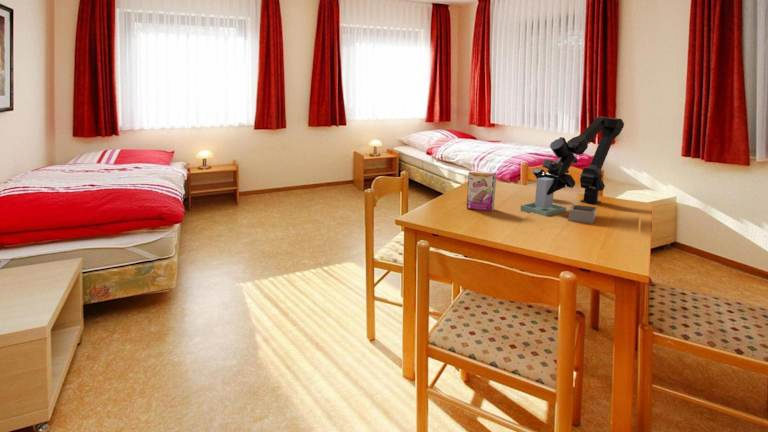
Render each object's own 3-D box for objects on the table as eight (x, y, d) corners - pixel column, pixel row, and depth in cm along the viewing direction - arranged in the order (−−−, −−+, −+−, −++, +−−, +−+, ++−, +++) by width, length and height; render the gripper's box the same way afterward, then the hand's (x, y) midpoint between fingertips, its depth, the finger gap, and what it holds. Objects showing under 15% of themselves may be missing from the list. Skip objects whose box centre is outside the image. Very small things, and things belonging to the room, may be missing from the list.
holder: (571, 216, 191) (572, 204, 190) (594, 219, 187) (596, 207, 185) (568, 222, 183) (569, 209, 182) (592, 225, 179) (594, 212, 178)
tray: (540, 206, 207) (540, 201, 206) (565, 212, 196) (566, 207, 196) (520, 210, 200) (520, 205, 199) (545, 217, 190) (546, 212, 189)
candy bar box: (466, 209, 203) (467, 172, 198) (469, 206, 207) (470, 170, 203) (491, 211, 198) (494, 174, 194) (494, 209, 203) (496, 172, 198)
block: (543, 204, 201) (545, 177, 198) (552, 207, 197) (554, 179, 193) (534, 206, 199) (537, 178, 195) (543, 208, 194) (546, 180, 191)
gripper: (537, 149, 201) (517, 177, 199) (573, 155, 185) (551, 185, 183) (548, 166, 207) (528, 193, 205) (584, 172, 191) (563, 202, 189)
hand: (542, 193), depth 195 cm, fingers closed on block, 5 cm apart
